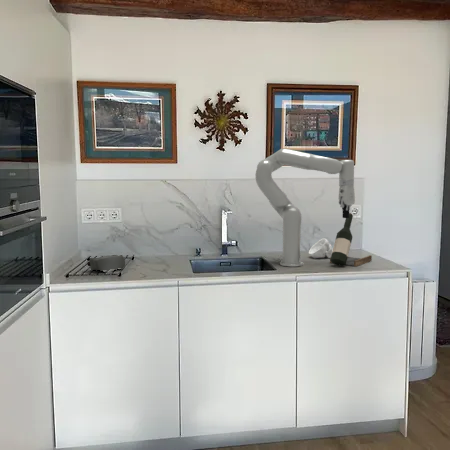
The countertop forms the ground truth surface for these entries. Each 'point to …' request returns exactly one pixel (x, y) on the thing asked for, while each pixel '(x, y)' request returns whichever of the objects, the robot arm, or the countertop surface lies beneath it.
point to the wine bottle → (342, 244)
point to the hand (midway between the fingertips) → (345, 217)
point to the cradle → (357, 261)
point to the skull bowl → (321, 249)
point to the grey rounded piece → (107, 262)
